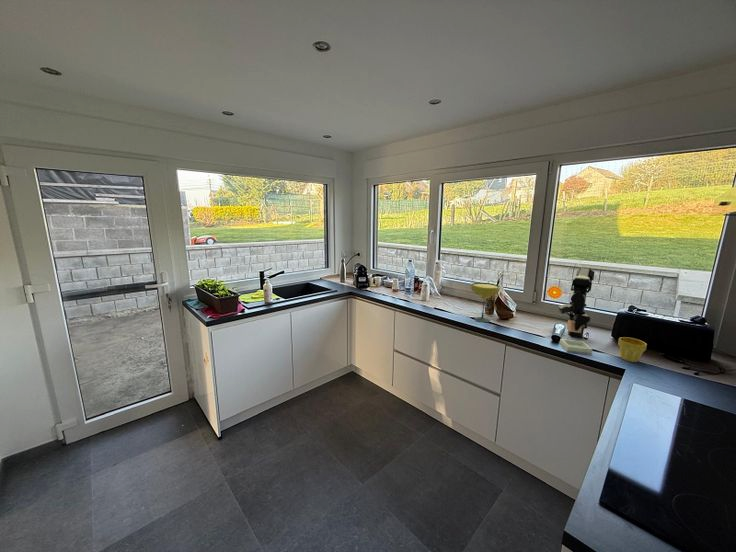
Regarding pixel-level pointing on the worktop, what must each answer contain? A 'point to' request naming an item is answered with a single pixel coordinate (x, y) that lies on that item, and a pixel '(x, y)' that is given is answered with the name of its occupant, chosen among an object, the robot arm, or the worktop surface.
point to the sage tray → (575, 346)
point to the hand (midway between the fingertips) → (574, 328)
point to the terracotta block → (573, 326)
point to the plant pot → (631, 348)
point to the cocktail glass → (484, 295)
